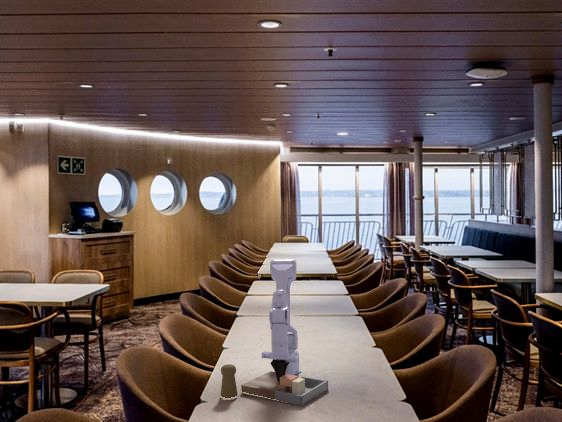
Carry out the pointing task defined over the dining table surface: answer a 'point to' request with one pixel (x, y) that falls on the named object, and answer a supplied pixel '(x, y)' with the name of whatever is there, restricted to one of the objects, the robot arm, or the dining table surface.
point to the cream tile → (298, 386)
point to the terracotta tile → (287, 380)
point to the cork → (228, 381)
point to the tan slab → (265, 386)
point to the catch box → (311, 391)
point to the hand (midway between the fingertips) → (280, 380)
